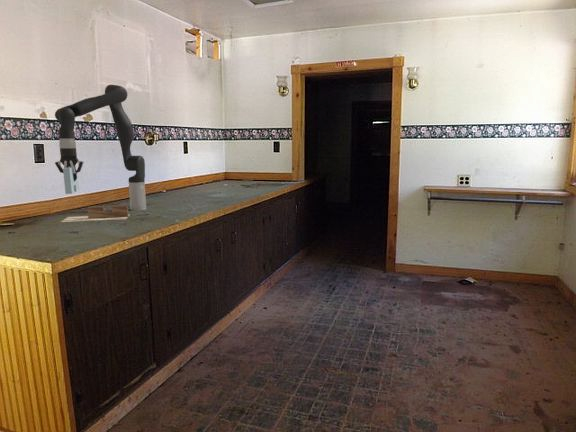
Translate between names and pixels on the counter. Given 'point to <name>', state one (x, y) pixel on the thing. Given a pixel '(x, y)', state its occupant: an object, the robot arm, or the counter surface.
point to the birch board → (85, 218)
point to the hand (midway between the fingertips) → (71, 180)
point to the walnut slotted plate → (100, 213)
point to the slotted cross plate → (70, 181)
